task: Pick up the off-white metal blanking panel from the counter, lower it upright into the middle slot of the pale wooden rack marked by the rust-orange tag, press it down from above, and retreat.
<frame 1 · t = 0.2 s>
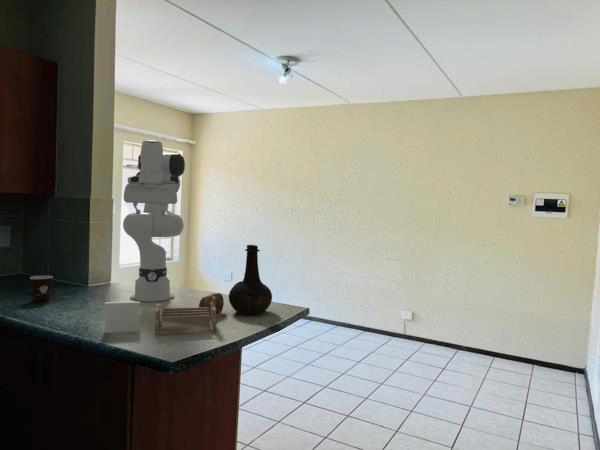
hand: (150, 214, 178), 39 cm above the counter, tool pointing down, fingers open, 8 cm apart
blanking panel: (122, 331, 153), on the counter
tin: (211, 316, 178), on the counter
glass bottle: (250, 313, 185), on the counter
coffee mug: (37, 301, 192), on the counter
rack: (185, 328, 159), on the counter
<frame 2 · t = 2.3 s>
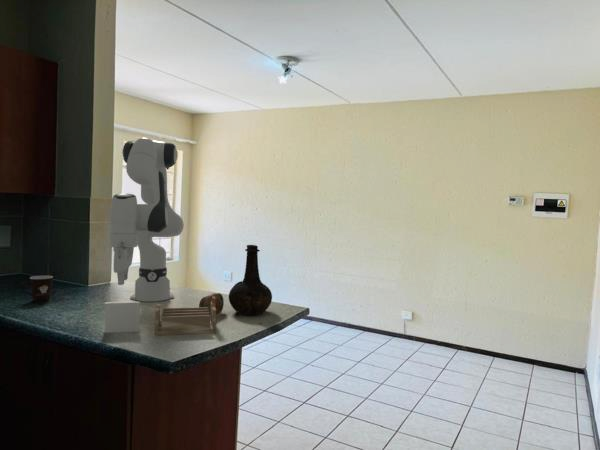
hand: (122, 282, 152), 17 cm above the counter, tool pointing down, fingers open, 8 cm apart
nothing on the counter moved.
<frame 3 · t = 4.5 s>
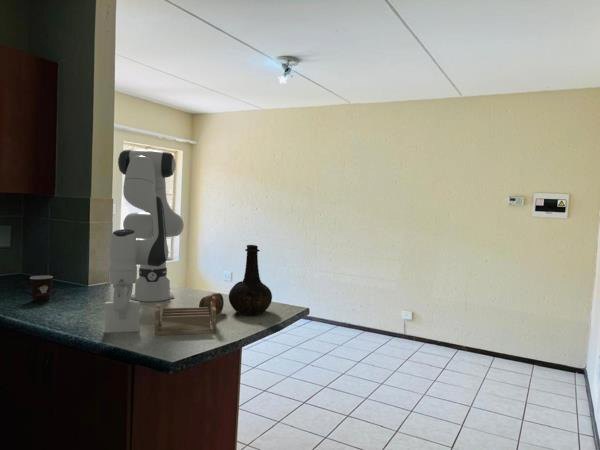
hand: (122, 317, 153), 5 cm above the counter, tool pointing down, fingers closed on blanking panel, 2 cm apart
blanking panel: (122, 331, 153), on the counter, touching gripper
everything else where it was.
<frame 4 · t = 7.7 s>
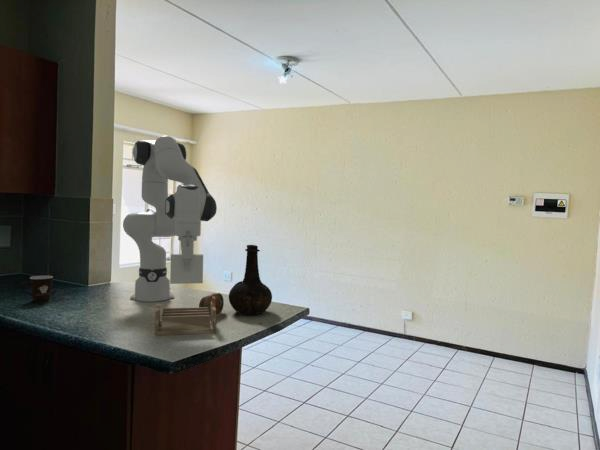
hand: (186, 269, 158), 21 cm above the counter, tool pointing down, fingers closed on blanking panel
blanking panel: (186, 282, 158), point 16 cm above the counter, touching gripper
everything else where it was.
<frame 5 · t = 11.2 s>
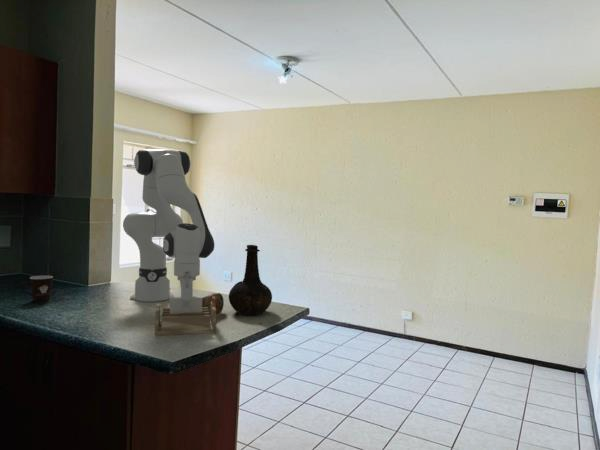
hand: (186, 308, 158), 7 cm above the counter, tool pointing down, fingers open, 6 cm apart
blanking panel: (185, 325, 159), point 1 cm above the counter, touching rack
everything else where it was.
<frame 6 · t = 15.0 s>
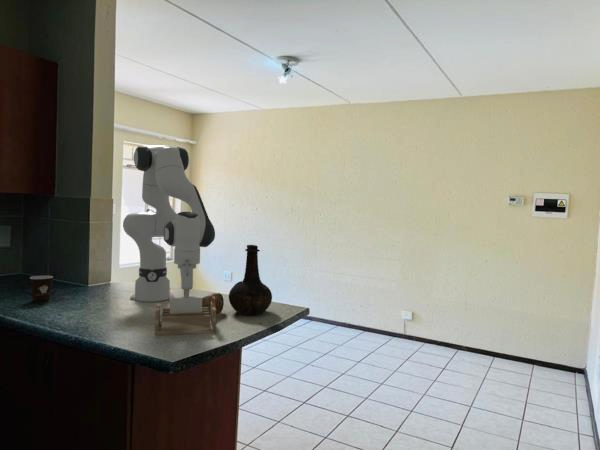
hand: (186, 297, 158), 11 cm above the counter, tool pointing down, fingers closed, pressing on blanking panel
blanking panel: (185, 325, 159), point 1 cm above the counter, touching gripper, rack
everything else where it was.
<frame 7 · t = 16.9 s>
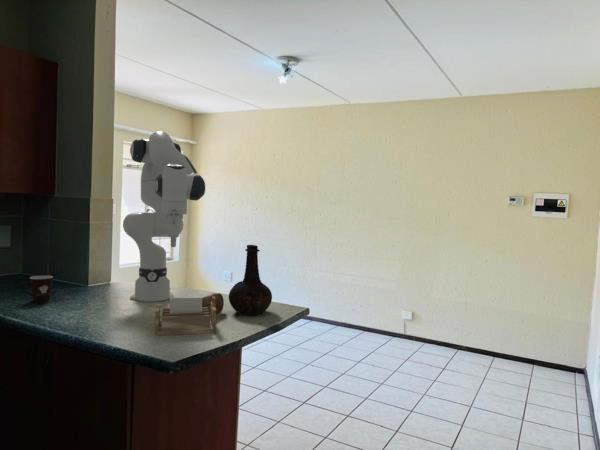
hand: (173, 246, 164), 28 cm above the counter, tool pointing down, fingers closed
blanking panel: (185, 325, 159), point 1 cm above the counter, touching rack
everything else where it was.
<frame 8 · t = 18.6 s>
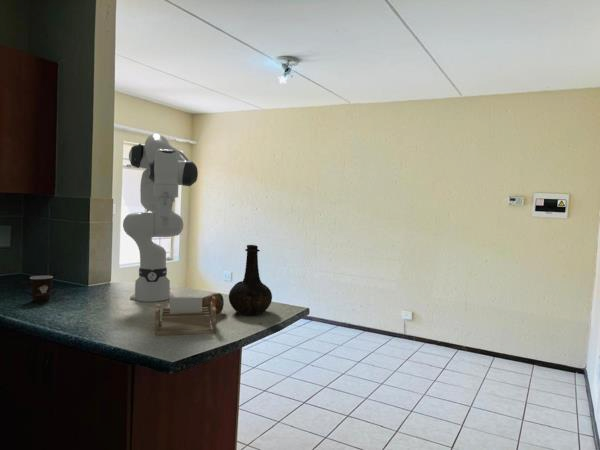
hand: (165, 229, 168), 34 cm above the counter, tool pointing down, fingers closed
nothing on the counter moved.
at the end: blanking panel 0.1 cm off-centre on the rack, point 1.2 cm above the rack's base; blanking panel tilted 0°; the gripper is holding nothing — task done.
